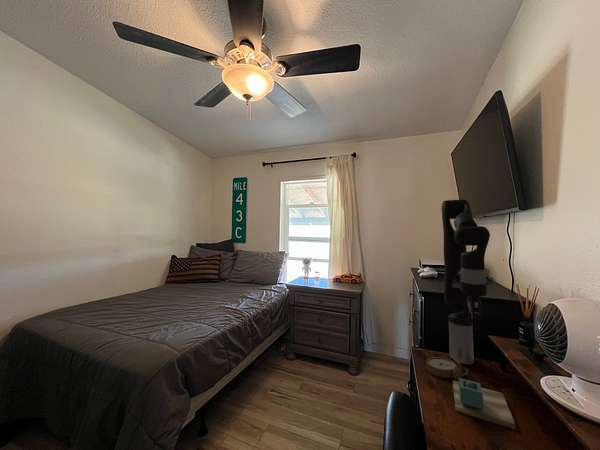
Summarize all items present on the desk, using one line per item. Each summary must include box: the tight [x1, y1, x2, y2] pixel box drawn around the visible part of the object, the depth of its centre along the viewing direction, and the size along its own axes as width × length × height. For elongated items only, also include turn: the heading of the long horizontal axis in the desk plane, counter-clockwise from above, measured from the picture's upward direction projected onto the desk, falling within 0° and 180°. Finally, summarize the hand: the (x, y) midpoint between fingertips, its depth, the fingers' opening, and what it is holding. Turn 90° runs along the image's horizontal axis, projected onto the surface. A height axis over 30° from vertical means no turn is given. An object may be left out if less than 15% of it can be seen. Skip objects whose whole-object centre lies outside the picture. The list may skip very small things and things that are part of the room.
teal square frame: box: [458, 377, 483, 409], centre depth 79 cm, size 6×6×5 cm
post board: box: [452, 379, 517, 430], centre depth 81 cm, size 16×15×8 cm
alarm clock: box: [425, 356, 469, 381], centre depth 99 cm, size 11×5×15 cm
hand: (474, 325), depth 85 cm, fingers open, 8 cm apart
